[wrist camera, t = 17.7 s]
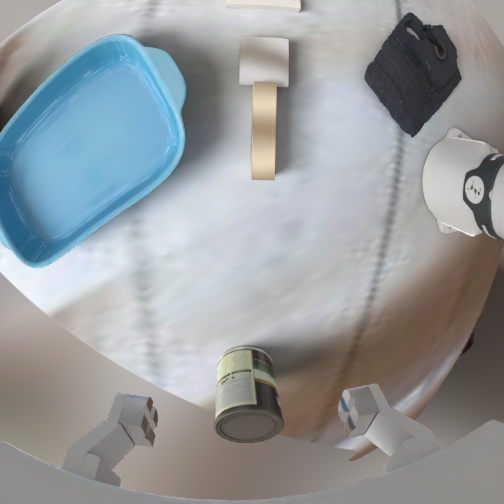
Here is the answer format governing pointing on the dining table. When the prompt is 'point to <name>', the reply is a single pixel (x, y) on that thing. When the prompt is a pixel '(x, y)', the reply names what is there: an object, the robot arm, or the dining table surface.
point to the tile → (265, 5)
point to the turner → (263, 96)
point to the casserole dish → (88, 146)
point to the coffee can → (247, 396)
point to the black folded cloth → (414, 72)
